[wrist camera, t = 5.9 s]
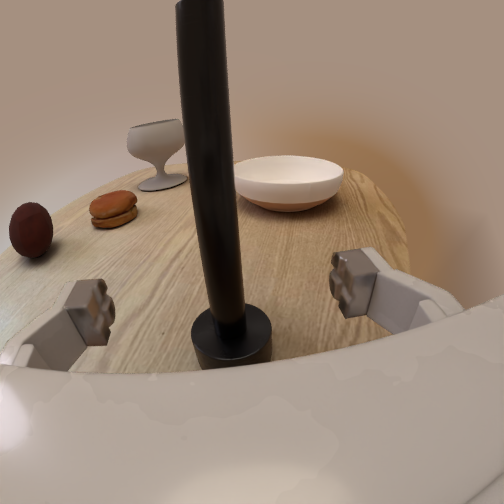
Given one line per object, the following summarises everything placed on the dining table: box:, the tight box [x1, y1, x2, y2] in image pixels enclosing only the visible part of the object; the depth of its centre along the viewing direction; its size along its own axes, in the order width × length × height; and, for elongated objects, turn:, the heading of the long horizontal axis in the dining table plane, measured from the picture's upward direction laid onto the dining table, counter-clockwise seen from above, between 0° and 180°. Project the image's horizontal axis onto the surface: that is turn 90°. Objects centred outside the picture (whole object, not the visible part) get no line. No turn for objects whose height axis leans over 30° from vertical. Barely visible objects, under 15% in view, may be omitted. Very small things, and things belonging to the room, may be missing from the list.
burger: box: [89, 190, 137, 228], centre depth 47 cm, size 10×9×5 cm
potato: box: [9, 202, 53, 258], centre depth 36 cm, size 9×12×9 cm
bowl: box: [234, 156, 343, 212], centre depth 48 cm, size 20×20×6 cm
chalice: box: [127, 119, 187, 190], centre depth 61 cm, size 14×14×15 cm
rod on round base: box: [175, 0, 272, 370], centre depth 16 cm, size 6×6×24 cm
